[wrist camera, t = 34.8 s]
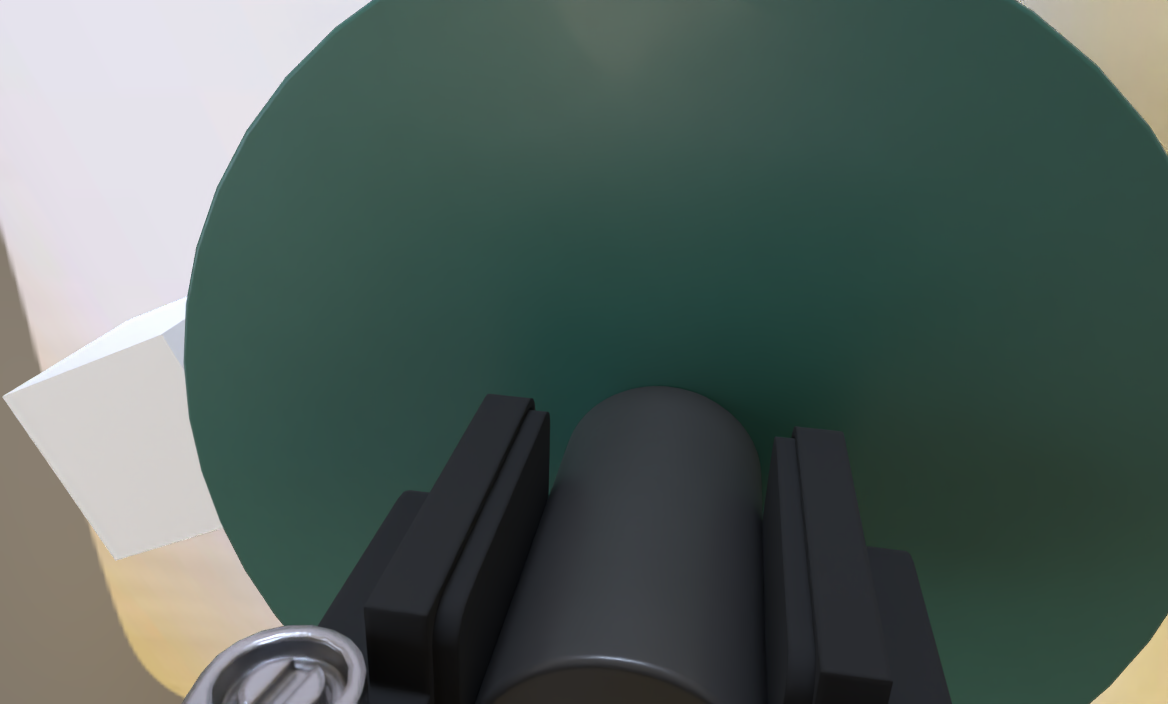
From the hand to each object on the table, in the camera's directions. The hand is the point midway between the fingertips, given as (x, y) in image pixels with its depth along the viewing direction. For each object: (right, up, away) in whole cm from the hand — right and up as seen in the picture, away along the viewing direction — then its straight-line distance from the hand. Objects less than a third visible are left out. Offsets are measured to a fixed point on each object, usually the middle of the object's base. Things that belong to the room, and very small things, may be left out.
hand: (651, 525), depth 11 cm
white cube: (-13, +2, +21) cm, 25 cm away
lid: (0, +1, +2) cm, 2 cm away
